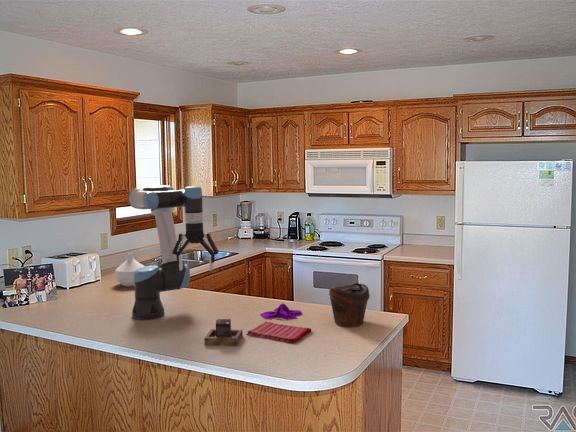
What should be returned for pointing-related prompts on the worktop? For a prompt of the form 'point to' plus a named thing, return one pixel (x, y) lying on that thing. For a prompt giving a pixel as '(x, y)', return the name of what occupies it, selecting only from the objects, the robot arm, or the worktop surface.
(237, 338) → the brown wooden shallow tray
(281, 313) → the cloth
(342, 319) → the dark brown lidded bucket
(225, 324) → the box
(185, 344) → the worktop surface
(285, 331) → the dish towel
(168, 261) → the robot arm
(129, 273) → the vase
